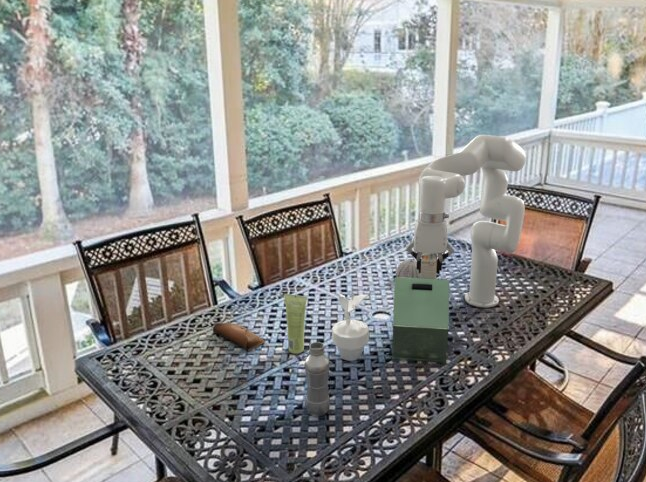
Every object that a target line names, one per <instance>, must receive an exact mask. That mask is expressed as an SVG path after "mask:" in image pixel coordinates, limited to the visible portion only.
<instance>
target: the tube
mask: <svg viewBox="0 0 646 482" xmlns="http://www.w3.org/2000/svg"><path fill="white" fill-rule="evenodd" d="M283 297H284V305H285V313H286V325H287V344H288V346H287V347H288V352H289V353H291V354H296V355H297V354H301V353H303V352H304V350H305V324H306V323H305V321H306V307H307V300H308V297H307V296H305V295H303V296H302V295H297V294H290V293H284V294H283Z"/></svg>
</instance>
